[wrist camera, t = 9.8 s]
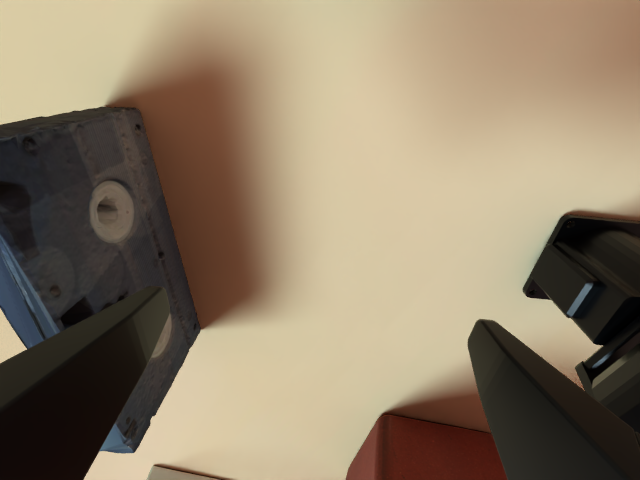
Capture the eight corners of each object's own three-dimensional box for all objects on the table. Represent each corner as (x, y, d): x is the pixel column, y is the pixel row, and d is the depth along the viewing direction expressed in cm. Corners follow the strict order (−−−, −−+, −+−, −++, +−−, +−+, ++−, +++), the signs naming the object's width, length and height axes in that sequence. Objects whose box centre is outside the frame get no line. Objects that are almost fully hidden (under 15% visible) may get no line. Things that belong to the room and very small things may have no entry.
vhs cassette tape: (98, 103, 18) (-124, 141, 9) (148, 105, 18) (-32, 145, 9) (169, 328, 27) (90, 451, 19) (202, 330, 27) (137, 455, 18)
